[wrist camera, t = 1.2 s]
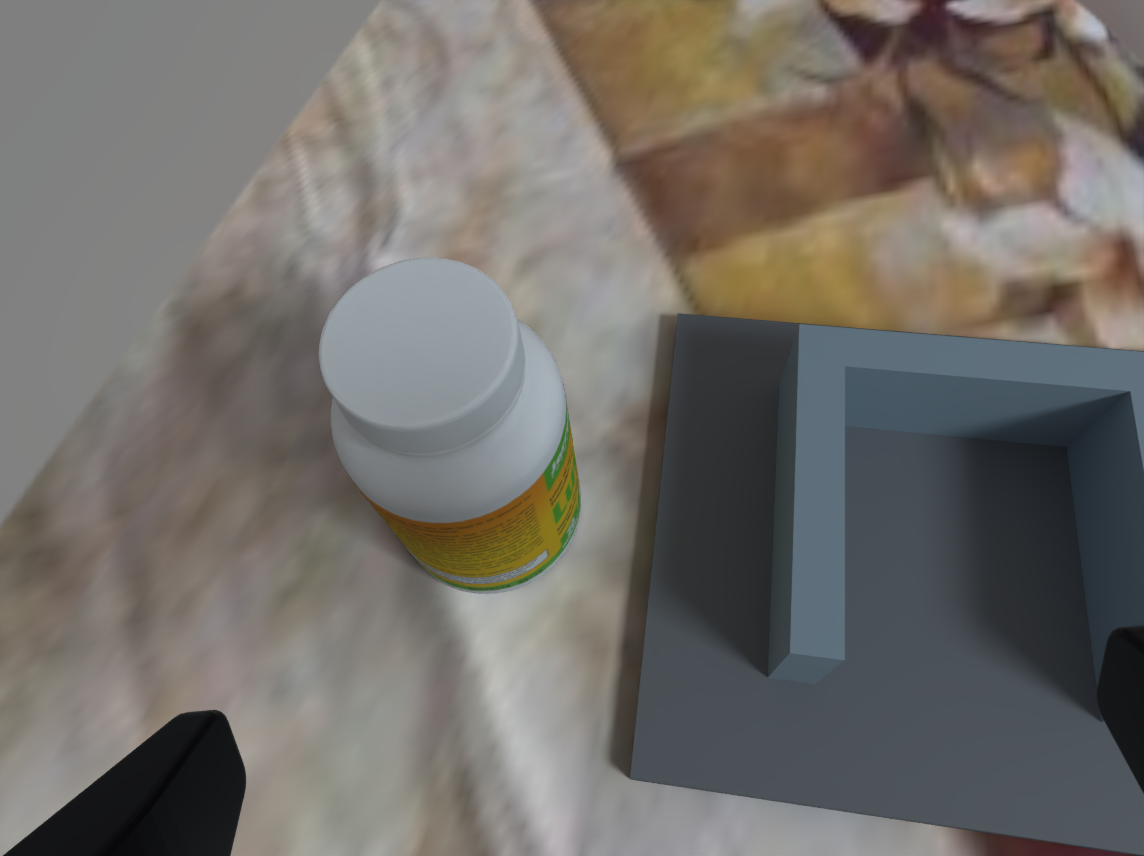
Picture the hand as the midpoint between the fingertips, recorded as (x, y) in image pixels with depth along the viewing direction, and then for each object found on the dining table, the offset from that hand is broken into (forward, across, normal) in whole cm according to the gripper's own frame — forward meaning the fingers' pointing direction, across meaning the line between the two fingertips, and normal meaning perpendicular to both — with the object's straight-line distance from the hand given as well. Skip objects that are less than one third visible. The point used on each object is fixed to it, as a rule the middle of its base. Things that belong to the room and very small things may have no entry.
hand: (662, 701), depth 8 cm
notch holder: (+13, -9, +8) cm, 18 cm away
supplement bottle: (+15, +4, +6) cm, 17 cm away
